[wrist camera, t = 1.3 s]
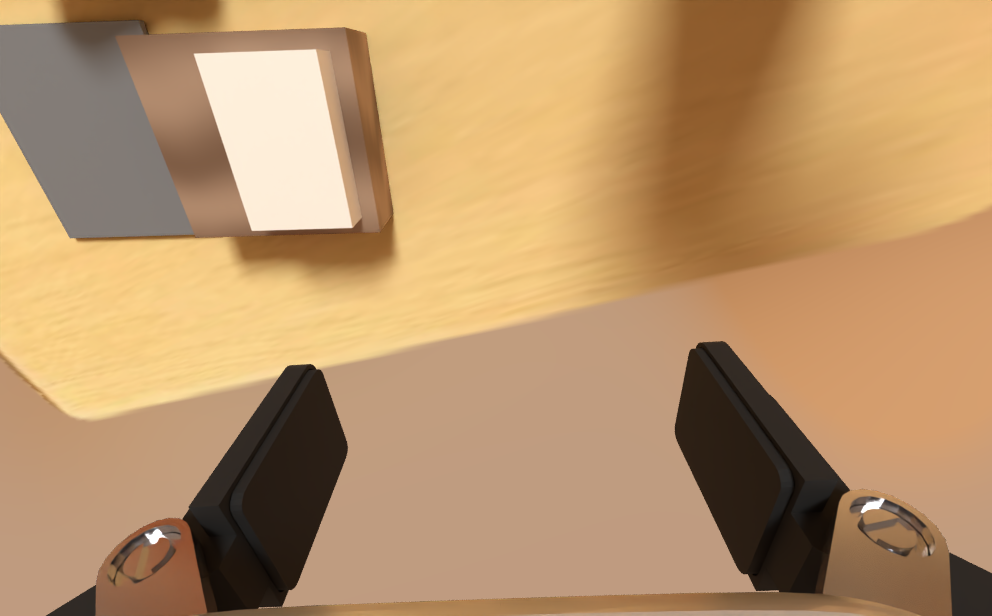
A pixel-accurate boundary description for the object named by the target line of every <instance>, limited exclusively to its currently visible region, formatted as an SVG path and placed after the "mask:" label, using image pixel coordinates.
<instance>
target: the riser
mask: <svg viewBox="0 0 992 616" xmlns="http://www.w3.org/2000/svg"><path fill="white" fill-rule="evenodd" d="M115 37H116V40H117V42H118V45H119V47H120V50H121V52H122V55H123V57H124V60H125V62H126V65H127V67H128V70H129V72H130V75H131V77H132V80H133V82H134V85H135V87H136V90H137V92H138V95H139V97H140V100H141V102H142V105H143V107H144V110H145V112H146V115H147V117H148V120H149V122H150V125H151V127H152V130H153V132H154V135H155V137H156V140H157V142H158V145H159V147H160V150H161V152H162V155H163V157H164V160H165V162H166V165H167V167H168V170H169V172H170V175H171V177H172V180H173V182H174V185H175V187H176V190H177V192H178V195H179V197H180V200H181V202H182V205H183V207H184V210H185V212H186V215H187V217H188V220H189V222H190V225H191V227H192V230H193V232H194V235H195V237H196V238H200V237H234V236H268V235H303V234H337V233H371V232H381V230H382V229H383V228H384V226H385V225H386V223H387V222H388V221H389V219H390V218H391V216H392V215H393V208H392V202H391V195H390V189H389V182H388V175H387V169H386V162H385V156H384V149H383V143H382V136H381V130H380V123H379V117H378V110H377V104H376V97H375V90H374V84H373V77H372V71H371V64H370V58H369V51H368V45H367V38H366V33H363V32H360V31H356V30H352V29H349V28H345V27H344V28H316V29H289V30H261V31H233V32H205V33H178V34H150V35H122V36H115ZM312 49H317V50H326V51H330V54H331V59H332V64H333V69H334V75H335V80H336V85H337V90H338V95H339V101H340V106H341V111H342V116H343V122H344V127H345V132H346V137H347V142H348V148H349V153H350V158H351V163H352V169H353V174H354V179H355V184H356V189H357V195H358V200H359V205H360V210H361V216H362V218H361V219H360V220H359V221H358V222H357V224H356V225H355V226H354V227H353V228H332V229H298V230H264V231H252V230H251V227H250V224H249V221H248V218H247V215H246V212H245V209H244V206H243V202H242V199H241V196H240V193H239V190H238V187H237V184H236V181H235V178H234V175H233V172H232V169H231V166H230V163H229V160H228V157H227V154H226V151H225V148H224V145H223V142H222V139H221V136H220V133H219V129H218V126H217V123H216V120H215V117H214V114H213V111H212V108H211V105H210V102H209V99H208V96H207V93H206V90H205V87H204V84H203V81H202V78H201V75H200V72H199V69H198V66H197V63H196V59H195V56H194V54H198V53H227V52H255V51H283V50H312Z"/></svg>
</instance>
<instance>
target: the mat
mask: <svg viewBox="0 0 992 616" xmlns="http://www.w3.org/2000/svg"><path fill="white" fill-rule="evenodd" d="M122 35H148V32H147V30H146V27H145V24H144V21H141V20H130V21H103V22H75V23H48V24H20V25H0V113H1V115H2V117H3V119H4V120H5V122H6V124H7V126H8V128H9V129H10V131H11V133H12V135H13V137H14V138H15V140H16V142H17V144H18V146H19V147H20V149H21V151H22V153H23V155H24V156H25V158H26V160H27V162H28V164H29V165H30V167H31V169H32V171H33V173H34V174H35V176H36V178H37V180H38V182H39V183H40V185H41V187H42V189H43V191H44V192H45V194H46V196H47V198H48V200H49V201H50V203H51V205H52V207H53V209H54V210H55V212H56V214H57V216H58V218H59V219H60V221H61V223H62V225H63V227H64V228H65V230H66V232H67V234H68V236H69V237H70V238H95V237H129V236H164V235H194V232H193V230H192V227H191V225H190V222H189V220H188V217H187V215H186V212H185V210H184V207H183V205H182V202H181V200H180V197H179V195H178V192H177V190H176V187H175V185H174V182H173V180H172V177H171V175H170V172H169V170H168V167H167V165H166V162H165V160H164V157H163V155H162V152H161V150H160V147H159V145H158V142H157V140H156V137H155V135H154V132H153V130H152V127H151V125H150V122H149V120H148V117H147V115H146V112H145V110H144V107H143V105H142V102H141V100H140V97H139V95H138V92H137V90H136V87H135V85H134V82H133V80H132V77H131V75H130V72H129V70H128V67H127V65H126V62H125V60H124V57H123V55H122V52H121V50H120V47H119V45H118V42H117V40H116V37H115V36H122Z"/></svg>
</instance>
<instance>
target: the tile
mask: <svg viewBox="0 0 992 616" xmlns="http://www.w3.org/2000/svg"><path fill="white" fill-rule="evenodd" d="M194 56H195V59H196V63H197V66H198V69H199V72H200V75H201V78H202V81H203V84H204V87H205V90H206V93H207V96H208V99H209V102H210V105H211V108H212V111H213V114H214V117H215V120H216V123H217V126H218V129H219V133H220V136H221V139H222V142H223V145H224V148H225V151H226V154H227V157H228V160H229V163H230V166H231V169H232V172H233V175H234V178H235V181H236V184H237V187H238V190H239V193H240V196H241V199H242V202H243V206H244V209H245V212H246V215H247V218H248V221H249V224H250V227H251V230H252V231H264V230H298V229H332V228H353V227H354V226H355V225H356V224H357V222H358V221H359V220H360V219H361V218H362V216H361V210H360V205H359V200H358V195H357V189H356V184H355V179H354V174H353V169H352V163H351V158H350V153H349V148H348V142H347V137H346V132H345V127H344V122H343V116H342V111H341V106H340V101H339V95H338V90H337V85H336V80H335V75H334V69H333V64H332V59H331V54H330V51H326V50H317V49H312V50H283V51H255V52H227V53H198V54H194Z"/></svg>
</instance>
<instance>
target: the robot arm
mask: <svg viewBox="0 0 992 616" xmlns="http://www.w3.org/2000/svg"><path fill="white" fill-rule="evenodd" d="M675 435H676V439H677V442H678V444H679V446H680V448H681V450H682V452H683V455H684V457H685V459H686V461H687V463H688V465H689V467H690V469H691V471H692V474H693V476H694V478H695V480H696V482H697V484H698V486H699V488H700V490H701V492H702V494H703V496H704V499H705V501H706V503H707V505H708V507H709V509H710V511H711V513H712V516H713V518H714V520H715V522H716V524H717V526H718V528H719V530H720V532H721V534H722V537H723V539H724V541H725V543H726V545H727V547H728V549H729V551H730V553H731V555H732V558H733V560H734V562H735V564H736V566H737V568H738V569H739V571H740V572H741V573H743V574H748V575H749V577H750V579H751V582H752V584H753V586H754V588H755V589H756V591H769V590H779V592H745V593H679V594H678V593H677V594H644V595H643V594H641V595H608V596H607V595H605V596H571V597H541V598H540V597H538V598H508V599H477V600H451V601H450V600H448V601H420V602H396V603H395V602H394V603H367V604H343V605H316V606H299V607H298V606H297V607H282V605H283V603H284V600H285V598H286V595H287V593H288V590H292V589H293V588H295V586H296V585H297V583H298V581H299V578H300V575H301V573H302V570H303V568H304V565H305V562H306V560H307V557H308V555H309V552H310V550H311V547H312V544H313V542H314V539H315V537H316V534H317V531H318V529H319V526H320V524H321V521H322V518H323V516H324V513H325V511H326V508H327V506H328V503H329V500H330V498H331V495H332V493H333V490H334V487H335V485H336V482H337V480H338V477H339V474H340V472H341V469H342V467H343V464H344V462H345V459H346V456H347V451H348V446H347V441H346V438H345V435H344V432H343V429H342V427H341V424H340V421H339V418H338V415H337V412H336V409H335V407H334V404H333V401H332V398H331V395H330V392H329V389H328V387H327V384H326V381H325V378H324V375H323V373H322V371H321V370H319V369H317V370H316V368H315V366H314V365H311V364H306V365H290V366H287V367H286V368H285V370H284V371H283V373H282V374H281V375H280V377H279V378H278V380H277V381H276V383H275V384H274V385H273V387H272V388H271V390H270V391H269V393H268V394H267V395H266V397H265V398H264V400H263V401H262V403H261V404H260V406H259V407H258V408H257V410H256V411H255V413H254V414H253V416H252V417H251V418H250V420H249V421H248V423H247V424H246V425H245V427H244V428H243V430H242V431H241V433H240V434H239V435H238V437H237V439H236V440H235V441H234V443H233V444H232V445H231V447H230V448H229V450H228V451H227V453H226V454H225V455H224V457H223V458H222V460H221V461H220V463H219V464H218V466H217V467H216V468H215V470H214V471H213V473H212V474H211V476H210V477H209V479H208V480H207V481H206V483H205V484H204V486H203V487H202V488H201V490H200V491H199V493H198V494H197V496H196V497H195V498H194V500H193V501H192V503H191V504H190V506H189V510H188V512H187V513H186V515H185V516H184V517H183V519H180V518H166V519H162V520H157V521H155V522H152V523H150V524H148V525H146V526H143V527H142V528H140V529H138V530H137V531H136V532H134V533H132V534H130V535H129V536H128V537H127V538H125V539H124V540H123V541H122V542H121V543H119V544H118V545H117V546H116V547H115V548H114V549H113V550H112V552H111V553H110V554H109V555H108V556H107V558H106V559H105V560H104V562H103V564H102V566H101V567H100V569H99V571H98V575H97V580H96V585H95V586H93V587H92V588H90V589H88V590H87V591H85V592H84V593H82V594H80V595H79V596H77V597H76V598H74V599H72V600H71V601H69V602H67V603H66V604H64V605H63V606H61V607H59V608H58V609H56V610H55V611H53V612H51V613H50V614H48V615H46V616H992V573H990V572H988V571H986V570H984V569H982V568H980V567H978V566H976V565H973V564H972V563H969V562H968V561H966V560H964V559H962V558H960V557H957V556H956V555H953V554H951V553H949V550H948V546H947V543H946V539H945V538H944V536H943V535H942V533H941V532H940V531H939V529H938V528H937V526H936V525H935V524H934V523H933V522H931V521H930V520H929V519H928V518H927V517H926V516H925V515H924V514H923V513H921V512H920V511H918V510H917V509H916V508H914V507H913V506H911V505H910V504H908V503H906V502H904V501H902V500H900V499H898V498H896V497H894V496H892V495H888V494H885V493H882V492H879V491H874V490H867V489H858V490H851V491H850V490H849V488H848V487H847V486H846V485H845V483H844V482H843V481H842V480H841V479H840V477H839V476H838V475H837V474H836V473H835V471H834V470H833V469H832V468H831V467H830V465H829V464H828V463H827V462H826V461H825V459H824V458H823V457H822V456H821V454H819V452H818V451H817V450H816V448H815V447H814V446H813V445H812V444H811V442H810V441H809V440H808V439H807V438H806V436H805V435H804V434H803V433H802V431H801V430H800V429H799V428H798V427H797V426H796V424H795V423H794V422H793V421H792V419H791V418H790V417H789V416H788V415H787V413H786V412H785V411H784V410H783V409H782V407H781V406H780V405H779V404H778V403H777V401H776V400H775V399H774V398H773V397H772V396H771V395H769V394H768V393H767V392H766V390H765V389H764V388H763V387H762V385H761V384H760V383H759V382H758V381H757V379H756V378H755V377H754V376H753V374H752V373H751V372H750V371H749V370H748V369H747V367H746V366H745V365H744V364H743V362H742V361H741V360H740V359H739V358H738V356H737V355H736V354H735V353H734V351H732V349H731V348H730V346H728V344H727V343H725V342H723V341H720V342H703V343H698V345H697V346H696V349H691V350H690V352H689V356H688V361H687V367H686V372H685V377H684V382H683V387H682V392H681V398H680V402H679V408H678V413H677V418H676V423H675ZM259 607H281V608H264V609H263V608H262V609H258V608H259Z"/></svg>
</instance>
